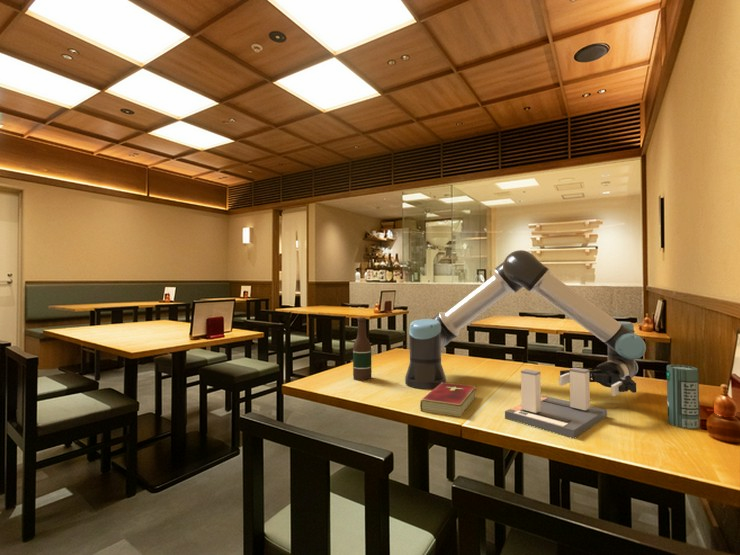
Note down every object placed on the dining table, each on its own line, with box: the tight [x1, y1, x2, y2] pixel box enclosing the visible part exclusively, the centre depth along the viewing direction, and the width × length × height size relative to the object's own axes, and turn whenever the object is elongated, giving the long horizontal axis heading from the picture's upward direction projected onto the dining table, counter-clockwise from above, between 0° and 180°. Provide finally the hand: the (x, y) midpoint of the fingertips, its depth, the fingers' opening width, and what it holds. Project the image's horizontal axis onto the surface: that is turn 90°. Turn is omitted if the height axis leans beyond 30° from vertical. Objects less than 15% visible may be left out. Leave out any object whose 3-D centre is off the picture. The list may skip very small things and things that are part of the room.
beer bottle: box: [352, 316, 372, 381], centre depth 150 cm, size 8×8×24 cm
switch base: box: [504, 368, 608, 439], centre depth 105 cm, size 18×22×13 cm
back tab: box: [569, 367, 591, 410], centre depth 105 cm, size 4×3×11 cm
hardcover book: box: [419, 382, 477, 417], centre depth 117 cm, size 12×21×4 cm, turn 153°
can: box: [666, 364, 701, 430], centre depth 99 cm, size 6×6×15 cm
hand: (585, 385), depth 106 cm, fingers open, 13 cm apart
